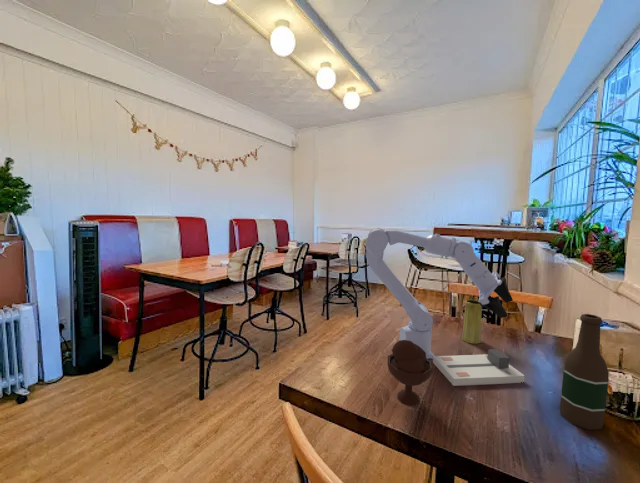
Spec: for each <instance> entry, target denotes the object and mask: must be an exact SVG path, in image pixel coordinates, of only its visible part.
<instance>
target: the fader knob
mask: <svg viewBox="0 0 640 483" xmlns="http://www.w3.org/2000/svg"><path fill="white" fill-rule="evenodd" d="M487 354H488V355H487V359H488V360H489V361H490V362H491V363H493V364H494V365H495V366H497V367H498V368H509V365H510V357H509V356H508V355H507V354H505V353H504V352H502V351H501V350H499V349H497V348H496V349H495V348H494V349H493V348H492V349H491V348H490V349H487Z"/></svg>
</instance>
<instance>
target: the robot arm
mask: <svg viewBox="0 0 640 483" xmlns="http://www.w3.org/2000/svg"><path fill="white" fill-rule="evenodd" d="M388 244H389V246H393V245H396V244H404V245H410V246H415V247H421V248H423V249H424V251H425V252H426V253H429V254H431V255H437V256H441V257H445V258H449V257H451V258H452V259H455V260H456V262H457V263H458V264H459V266H460V268H461V269H462V270H463V272H464V273H465V274H466V275H467V276H468V278H469V279H470V280H471V282H472V283H473V284H474V285H475V287H477V289H478V295H479V296H478V297H479V298H478V301H480V303H479V304H480V305H481V306H482V308H485V309H487V310H489V311H491V312H492V313H493V314H495V315H496V316H498V317H499V318H500V319H502V318H507V317H508V312H507V311H506V309H505V308H504V307H503V304H502V303H501V300H503V302H505V303H510V302H511V303H512V302H513V301H514V300H513V297H512V294H511V292H510V291H509V288H508V284H507V279H506V277H504V276H503V277H501V275H500V274H499V273H498V272H497V271H493V272H491V271H490V270H489V268H488V267H487V266H486V265H485V264H484V263H483V261H482V260H481V259H480V257H479V256H477V255H476V253H475V250H474V247H473V245H471V244H469V243H468V242H465V241H463V240H460V239H457V238H456V237H452V238H448V237H445V236H441V234H439V233H434V234H430V235H428V236H426V237H424V236H421V235H416V234H412V233H408V232H404V231H401V230H397V229H390V228H387V229H386V228H384V229H383V228H380V227H377V228H375V227H374V228H373V229H371V230H370V231H369V233H368V235H367V239H366V242H365V249H366V250H365V251H366V252H365V253H366V262H367V265H368V266H369V268H370V269H371V270H372V272H374V274H375V275H376V276H377V277H378V279H379V280H380V281H381V283H383V285H384V286H385V287H386V288H387V289H388V291H389V292H390V293H391V294H392V296H393V297H394V298H395V299H396V301H398V303H399V304H400V305H401V306H402V308H403V309H404V311H405V313H406V314H407V315H408V317H409V318H410V320H409V321H408V323H407V325H406V326H402V327H400V329H399V336H398V338H399V340H398V341H401V340H407V341H411V342H413V343H414V344H416V345H418V346H419V347H421V348H422V349H423V350H424V351H425V352H426V358H427V359H429V360H430V359H432V360H433V356H435V354H434V353H433V352H432V351H431V350H432V348H431V346H432V328H433V327H432V326H433V324H434V318H433V317H432V315H431V314H430V312H429V310H428V307H427V306H426V305H425V304H424V303H422V302H420V301H418V300H417V299H416V297H415V296H413V294H412V293H411V292H410V290H408V289H407V287H406V286H405V285H404V284H403V282H402V281H401V280H400V279H399V278H398V276H397V275H396V274H395V272H393V270H392V269H391V268H390V266H388V264H387V263H386V262H385V260H384V253H385V250H386V248H387V247H388V246H387V245H388ZM493 292H494V294H496V295H497V296H491V295H492V293H493ZM500 299H501V300H500Z"/></svg>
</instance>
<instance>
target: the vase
mask: <svg viewBox="0 0 640 483" xmlns="http://www.w3.org/2000/svg"><path fill="white" fill-rule="evenodd" d="M479 303H480V301H479V300H476V299H466V300H465V303H464V317H463V328H462V336H461V338H462V340H463V341H464V342H465V343H469V344H471V345H472V344H473V345H475V344H477V345H478V344H480V343H481V342H482V338H481V336H482V334H481V332H482V311H483V307H482V306H481V305H480V304H479Z"/></svg>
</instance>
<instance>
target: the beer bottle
mask: <svg viewBox="0 0 640 483" xmlns="http://www.w3.org/2000/svg"><path fill="white" fill-rule="evenodd" d="M579 319H580V321H581V324H580V328H579V333H578V338H577V339H578V340H577V342H576V345H575V347H574V348H572V349H571V350H569V352H568V353H567V354H566V357H565V359H564V365H563V374H562V383H561V391H560V393H561V394H560V405H559V406H560V408H559V414H560V416H561V417H563V418H564V419H565V420H566V421H568V422H569V423H570V424H571V425H573V426H577V427H579V428H582V429H586V430H589V431H592V430H593V431H594V430H596V431H597V430H602V429H603V425H604V421H605V414H606V404H607V398H608V388H609V376H610V374H609V368H608V365H607V362H606V360H605V359H604V357H603V355H602V354H601V350H600V345H601V325H603V320H602V319H603V318H602V317H600V316H598V315H596V314H590V313H583V314H581V316H580V318H579Z"/></svg>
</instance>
